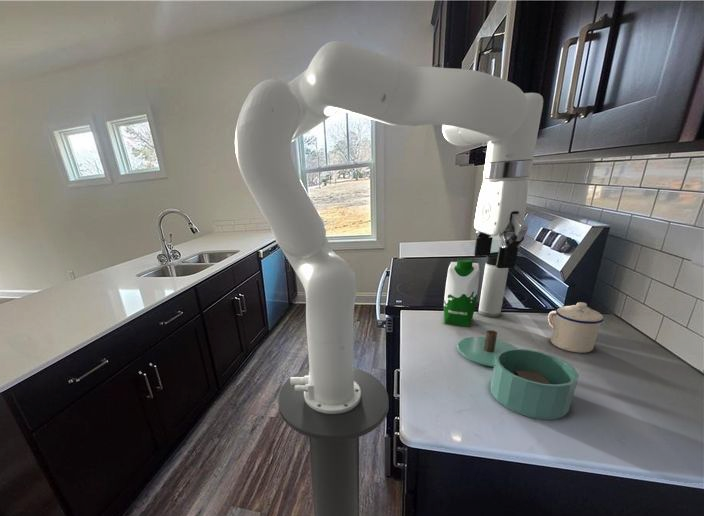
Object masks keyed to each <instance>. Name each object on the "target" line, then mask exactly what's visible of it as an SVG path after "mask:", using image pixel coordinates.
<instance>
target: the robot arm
mask: <svg viewBox="0 0 704 516" xmlns="http://www.w3.org/2000/svg"><path fill="white" fill-rule="evenodd" d="M543 107H544V97H543V96H542V95H541V94H540V93H537V92H523V90H522V89H521V88H520V87H519V86H518V85H516V84H515V83H513V82H512V81H510V80H509V81H508V80H506V79H504V78H501V77H498V76H496V75H492V74H490V73H486V72H483V71H479V70H474V69H465V68H451V67H438V66H420V65H419V66H418V65H414V64H411V63H407V62H404V61H401V60H399V59H397V58H393V57H390V56H387V55H384V54H381V53H379V52H376V51H372V50H370V49H367V48H365V47H361V46H359V45H356V44H352V43H350V42H346V41H342V40H332V41H329V42H326V43H325V44H324V45H322V46H321V47H320V48H319V49H318V50H317V52H316V53H315V54H314V56H313V58H312V59H311V61H310V63H309V65H308V67H307V68H306V69H305V70H304V71H303V72H301V73H300V74H298V75H297V76H296V77H295V78H294V79H292V80H291V81H288V82H287V83H286V82H285V81H283V80H281V79H277V78H268V79H264V80H262V81H261V82H259V83H257V85H255V86H254V87H253V88H252V89H251V91H250V92H249V93H248V95H247V97H246V99H245V100H244V102H243V104H242V106H241V109H240V111H239V115H238V118H237V122H236V126H235V135H234V148H235V156H236V161H237V165H238V168H239V171H240V174H241V177H242V180H243V181H244V183H245V185H246V187H247V189H248V191H249V193H250V194H251V196H252V198H253V200H254V201H255V203H256V205H257V207H258V209H259V210H260V211H259V212H261V214H262V216H263V218H264V220H265V221H266V223H267V224H268V226H269V227H270V230H271V234H272V236H273V238H274V240H275V242H276V244H277V245H278V246H279V247H280V249H281V251H282V252H283V254H284V256H285V258H286V260H287V261H288V262H289V264H290V265H291V267H292V269H293V270H294V272H295V274H296V276H297V277H298V279H299V281H300V283H301V285H302V287H303V289H304V292H305V302H306V303H305V326H306V338H307V353H308V354H307V355H308V368H309V376H305V377H300V378H299V377H292V376H290V377H289V378H290V385H291V386H295V392H301V391H304V398H305V401H306V403H307V404H308V405H309V406H310V407H311V408H312V409H314V410H316V411H318V412H322V413H326V414H339V413H344V412H347V411H349V410H351V409H353V408H354V407H356V406H357V405H358V403H359V402H360V399H361V390H360V387H359V385H358V384H357V383H356V382H355V381H354V367H355V360H354V358H355V357H354V356H355V355H354V354H355V352H354V351H355V350H354V349H355V348H354V347H355V346H354V344H355V343H354V342H355V341H354V339H355V338H354V337H355V336H354V334H355V333H354V315H355V304H356V299H357V290H358V289H357V288H358V285H357V284H358V283H357V279H356V274H355V272H354V271H353V269H352V267H351V266H350V265H349V264H348V262H347V261H346V260H345V259H343V258H342V257H341V256H339V255H338V254H336V253H335V251H334V249H333V248H332V246H331V244H330V242H329V240H328V239H327V229H326V224H325V222H324V219H323V217H322V216H321V214H320V212H319V211H318V209H317V208H316V206H315V204H314V202H313V201H312V198H311V197H310V195H309V193H308V191H307V189H306V187H305V186H304V183H303V182H302V180H301V177H300V175H299V173H298V170H297V168H296V166H295V164H294V160H293V157H292V156H293V155H292V142H294V141H295V140H297V139H299V138H300V137H302V136H303V135H305V134H306V133H308V132H309V131H311V130H313V129H314V128H316V127H317V126H319V125H320V124H322V123H323V122H325V121H326V120H327V119H329V118H330V117H332V116H333V115H335V114H336V113H337V112H339V111H342V112H344V113H345V112H346V113H349V114H352V115H356V116H359V117H361V118H362V117H363V118H366V119H370V120H372V121H376V122H379V123H383V124H386V125H389V126H394V127H419V126H429V125H436V126H440V125H441V132H442V134H443V137H444V139H445V140H446V141H447V142H448V143H450V144H451V145H454V146H458V147H468V146H473V145H478V144H484V143H487V148H486V153H485V161H484V162H485V163H484V169H483V176H482V184H481V189H480V192H479V195H478V200H477V206H476V211H475V217H474V222H473V227H474V229H475V230H476V231H475V243H474V251H473V256H474V257H487V256H489V255H490V253H492V252H491V251H492V244H493V237H497V236H499V240H500V245H501V246H499V247H498V251H497V252H498V258H497V264H496V267H497V268H509V269H514V268H515V267H516V263H517V257H518V252H519V248H521V246H522V245H521V244H522V242H523V241H524V240H525V236H526V234H527V232H528V230H529V225H528V224H527V223H526V221H525V217H526V211H527V210H526V209H527V202H528V190H529V189H528V188H529V180H530V178H531V172H532V167H533V162H534V157H535V152H536V151H535V150H536V145H537V139H538V136H539V135H538V133H539V129H540V124H541V118H542V113H543ZM491 236H492V237H491ZM508 237H509V238H508Z"/></svg>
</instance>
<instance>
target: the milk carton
mask: <svg viewBox="0 0 704 516" xmlns="http://www.w3.org/2000/svg"><path fill="white" fill-rule="evenodd" d="M446 275H447V276H446V281H445V287H444V289H445V290H444V299H443V319H444V324H445V325H451V326H460V327H467V328H470V327H471V324H472V320H473V316H474V314H475V310H476V305H477V299H478V291H479V286H480V285H479V284H480V283H479V282H480V277H481V270H480V265H479V262H474V260H473V259H470V258H458V259H457V260H456V261H450V263H449V266H448V269H447V273H446Z"/></svg>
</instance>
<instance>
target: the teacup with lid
mask: <svg viewBox="0 0 704 516" xmlns="http://www.w3.org/2000/svg"><path fill="white" fill-rule="evenodd" d="M554 315H555V318H554ZM554 319H555V320H554ZM547 320H548V321H547V322H548V324H549V326H550V327H551V328H552V332H551V336H550V343H551V344H552V345H554V346H555V347H557V348H559V349H562V350H564V351H568V352H572V353H579V354H581V353H590V352H592V351H593V350H594V347H595V344H596V341H597V337H598V334H599V330H600V327H601V324H602V322H603V321H604V316H603V314H602V313H600V312H599V311H597V310H594V309H592V308H591V307H589V306H588V303H586V302H581V301H578V302H577V303H576V304H572V305H564V306H560V307H559V308H557V309H556V310H552V311H550V312H549V313H548V315H547Z"/></svg>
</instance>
